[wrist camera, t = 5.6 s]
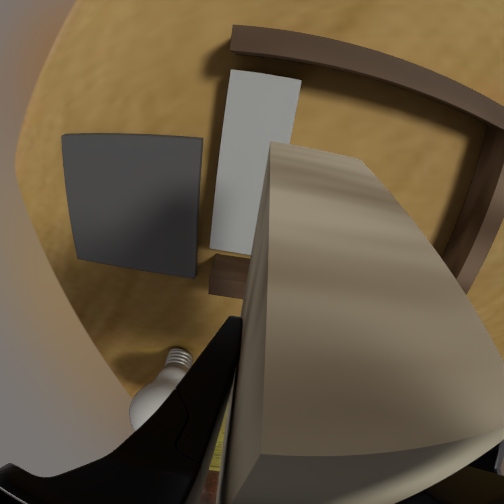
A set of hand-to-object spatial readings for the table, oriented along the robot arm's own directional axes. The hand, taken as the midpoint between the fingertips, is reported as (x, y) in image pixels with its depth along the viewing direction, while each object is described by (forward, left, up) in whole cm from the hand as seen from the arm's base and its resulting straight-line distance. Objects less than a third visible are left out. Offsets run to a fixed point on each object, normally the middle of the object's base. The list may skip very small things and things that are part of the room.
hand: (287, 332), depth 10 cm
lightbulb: (-19, +7, -13) cm, 24 cm away
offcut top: (+1, +2, -13) cm, 13 cm away
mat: (-3, +11, -13) cm, 17 cm away
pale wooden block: (0, 0, -3) cm, 3 cm away
